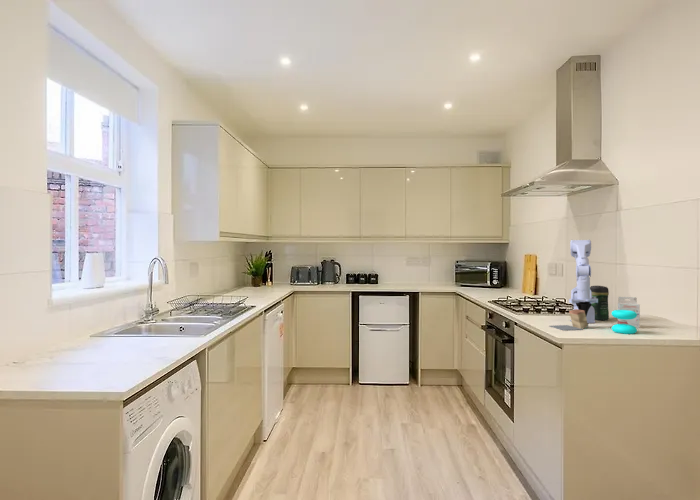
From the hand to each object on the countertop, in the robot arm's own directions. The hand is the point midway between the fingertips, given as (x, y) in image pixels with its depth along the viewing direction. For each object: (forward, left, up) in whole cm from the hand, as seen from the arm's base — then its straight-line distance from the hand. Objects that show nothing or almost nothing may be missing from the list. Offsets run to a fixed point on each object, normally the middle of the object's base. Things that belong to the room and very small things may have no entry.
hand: (583, 317), depth 216 cm
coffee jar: (-25, -21, -5) cm, 33 cm away
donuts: (-9, +15, -5) cm, 18 cm away
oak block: (+2, 0, -4) cm, 5 cm away
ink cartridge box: (-22, +3, -5) cm, 23 cm away
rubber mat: (+10, 0, -5) cm, 11 cm away
